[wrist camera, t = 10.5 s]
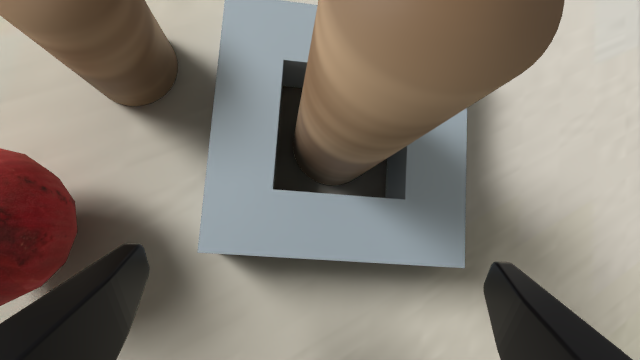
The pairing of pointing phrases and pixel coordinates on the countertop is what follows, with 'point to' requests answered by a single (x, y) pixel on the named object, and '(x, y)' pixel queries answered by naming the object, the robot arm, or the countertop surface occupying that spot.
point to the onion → (31, 225)
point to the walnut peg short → (102, 44)
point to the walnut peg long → (406, 73)
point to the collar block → (307, 207)
